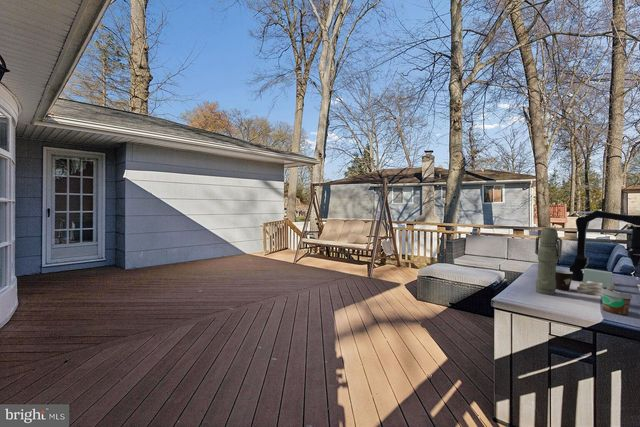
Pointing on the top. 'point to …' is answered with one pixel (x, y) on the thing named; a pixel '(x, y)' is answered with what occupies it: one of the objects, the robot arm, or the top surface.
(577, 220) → the robot arm
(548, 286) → the thermos
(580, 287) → the rack
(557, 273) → the coffee mug
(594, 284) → the offcut stack
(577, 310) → the top surface
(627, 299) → the food container
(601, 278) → the green board
